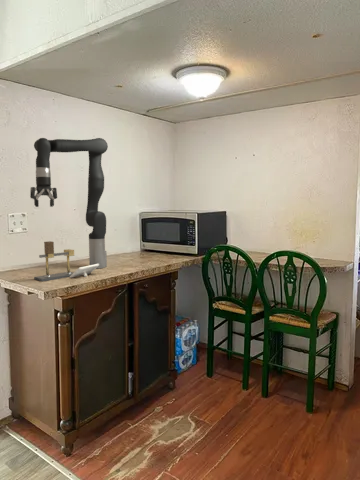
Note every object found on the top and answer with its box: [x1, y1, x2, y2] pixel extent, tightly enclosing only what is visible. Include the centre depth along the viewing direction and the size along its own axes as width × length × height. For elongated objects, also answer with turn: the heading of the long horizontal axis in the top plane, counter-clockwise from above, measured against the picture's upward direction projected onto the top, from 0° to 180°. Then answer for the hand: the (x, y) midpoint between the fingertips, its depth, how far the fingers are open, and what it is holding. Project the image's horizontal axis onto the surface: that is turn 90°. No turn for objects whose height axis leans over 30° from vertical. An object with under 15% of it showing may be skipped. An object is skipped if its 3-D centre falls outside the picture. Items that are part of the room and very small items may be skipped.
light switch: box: [69, 264, 99, 278], centre depth 195 cm, size 8×5×14 cm
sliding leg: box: [43, 240, 55, 275], centre depth 185 cm, size 3×5×17 cm, turn 49°
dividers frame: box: [38, 248, 75, 273], centre depth 189 cm, size 18×5×12 cm, turn 139°
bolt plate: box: [33, 271, 75, 282], centre depth 191 cm, size 20×8×2 cm, turn 139°
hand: (44, 206), depth 202 cm, fingers open, 8 cm apart
